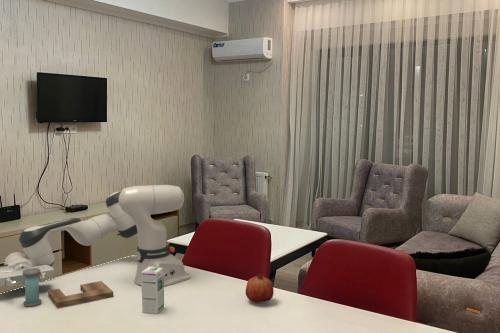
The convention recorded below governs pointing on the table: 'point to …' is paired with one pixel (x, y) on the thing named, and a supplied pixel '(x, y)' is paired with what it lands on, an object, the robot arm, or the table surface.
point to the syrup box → (152, 290)
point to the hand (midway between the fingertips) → (28, 282)
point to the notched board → (81, 295)
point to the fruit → (259, 289)
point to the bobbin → (31, 287)
